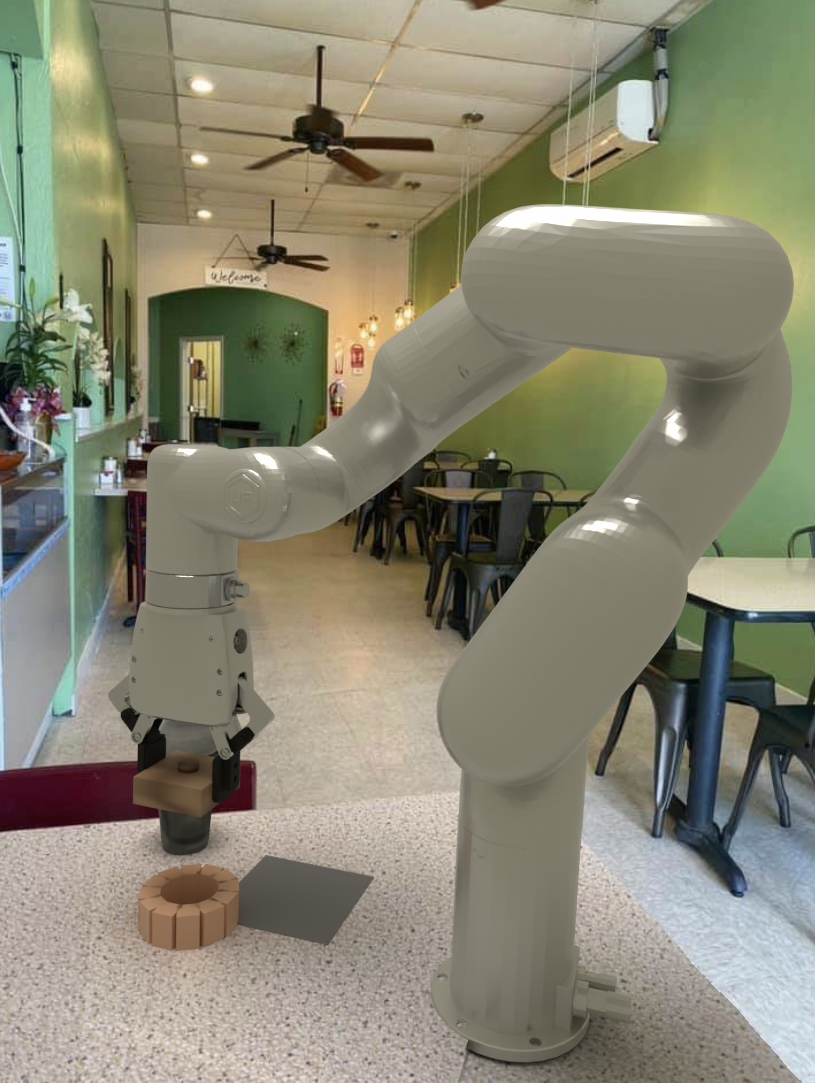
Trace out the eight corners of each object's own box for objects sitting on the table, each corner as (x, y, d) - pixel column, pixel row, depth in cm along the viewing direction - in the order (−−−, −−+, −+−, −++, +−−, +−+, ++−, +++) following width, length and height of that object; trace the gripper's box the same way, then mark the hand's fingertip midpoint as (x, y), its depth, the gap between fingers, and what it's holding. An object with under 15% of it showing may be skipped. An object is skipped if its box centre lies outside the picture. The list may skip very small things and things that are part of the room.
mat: (373, 886, 82) (374, 876, 82) (327, 955, 71) (328, 944, 71) (265, 864, 86) (266, 855, 85) (205, 926, 74) (205, 916, 74)
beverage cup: (201, 874, 83) (203, 683, 81) (136, 865, 84) (136, 676, 82) (231, 841, 90) (233, 664, 88) (170, 833, 91) (171, 658, 89)
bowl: (255, 914, 76) (255, 874, 76) (206, 969, 68) (206, 925, 68) (174, 896, 79) (174, 857, 78) (118, 947, 71) (118, 904, 70)
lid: (239, 786, 74) (240, 755, 74) (201, 817, 68) (201, 783, 68) (176, 774, 76) (176, 744, 76) (133, 803, 70) (133, 770, 70)
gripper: (302, 593, 71) (295, 790, 73) (131, 574, 76) (129, 758, 78) (262, 608, 64) (256, 826, 66) (76, 586, 69) (76, 789, 71)
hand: (187, 787), depth 72 cm, fingers closed on lid, 6 cm apart
